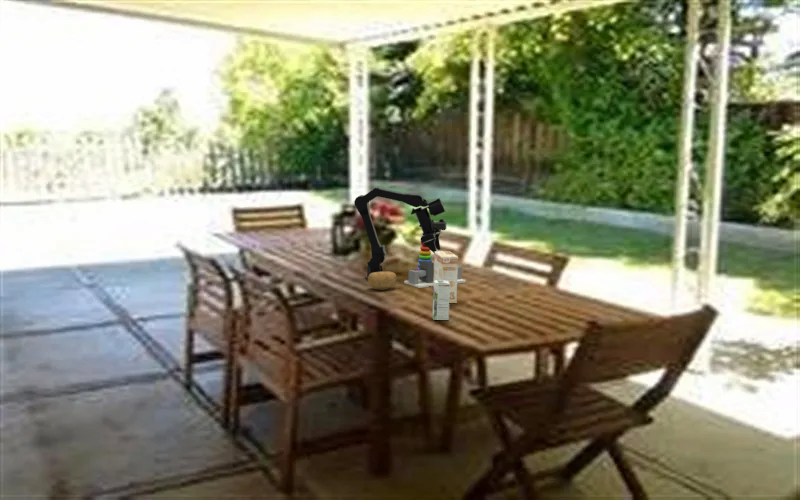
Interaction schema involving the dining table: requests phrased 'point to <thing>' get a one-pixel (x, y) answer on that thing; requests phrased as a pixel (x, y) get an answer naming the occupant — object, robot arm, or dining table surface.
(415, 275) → the pipe rig
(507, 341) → the dining table surface
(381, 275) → the potato
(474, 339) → the dining table surface
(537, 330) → the dining table surface
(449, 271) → the coffeecake box
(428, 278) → the collar
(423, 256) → the stacking toy
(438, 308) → the syrup box
